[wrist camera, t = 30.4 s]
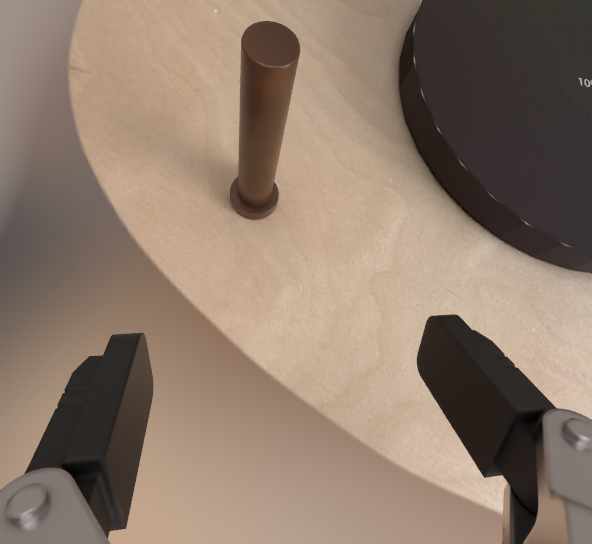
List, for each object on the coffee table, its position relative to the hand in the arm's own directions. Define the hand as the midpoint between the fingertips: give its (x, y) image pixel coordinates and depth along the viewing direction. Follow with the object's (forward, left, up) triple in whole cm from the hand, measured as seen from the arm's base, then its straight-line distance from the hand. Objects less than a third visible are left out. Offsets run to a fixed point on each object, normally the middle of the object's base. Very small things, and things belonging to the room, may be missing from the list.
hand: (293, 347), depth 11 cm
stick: (+5, +10, -13) cm, 17 cm away
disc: (+33, +6, -13) cm, 36 cm away
